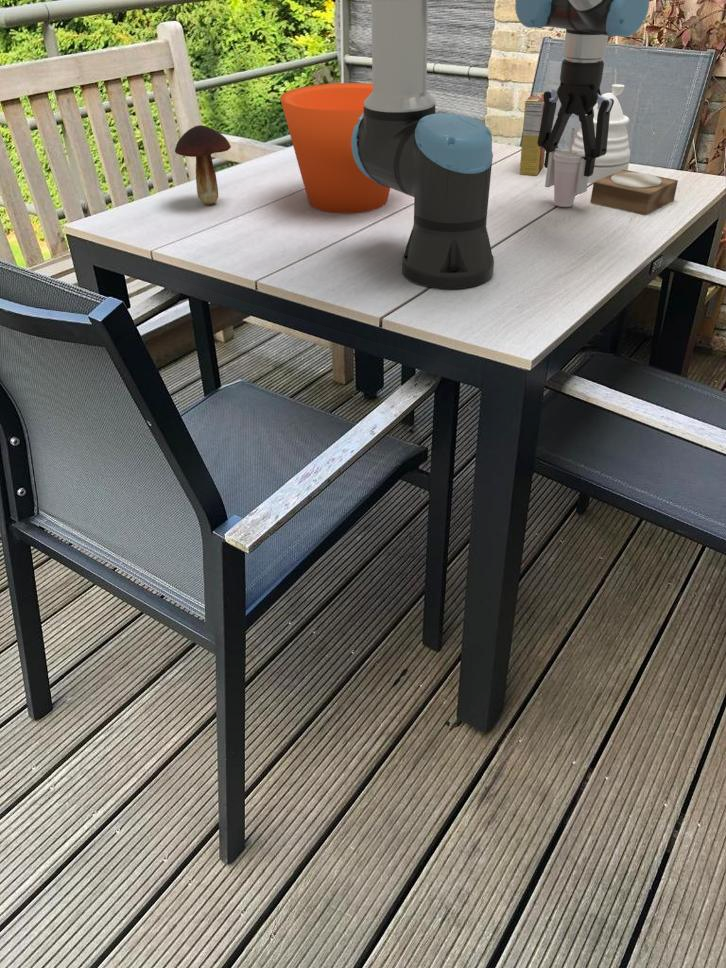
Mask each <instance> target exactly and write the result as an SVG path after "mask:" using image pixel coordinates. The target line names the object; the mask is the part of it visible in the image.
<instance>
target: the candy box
mask: <svg viewBox="0 0 726 968" xmlns="http://www.w3.org/2000/svg"><path fill="white" fill-rule="evenodd" d="M544 93H545V92H532V93H531V95H529V97H528V98H527V99H526V100H525V102H524V112H523V124H522V125H523V127H522V139H521V151H520V165H519V175H523V176H532V177H533V176H535V177H537V176H538V175H539V173H540V172H541V170H542V168H544V167H545V166H544V162H545V154H546V150H545V149H544V148H543V147H542V146H538V137H539V132H540V126H541V121H542V116H543V110H544Z"/></svg>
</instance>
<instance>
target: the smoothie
mask: <svg viewBox="0 0 726 968" xmlns="http://www.w3.org/2000/svg"><path fill="white" fill-rule="evenodd" d="M575 129H576V128H571V131H570V133H571V134H570V141H569V147H568V148H567V149H556V150H557V151H555V152H554V156H553V159H554V160H555V163H554V185H553V189H554V190H553V204H554V206H556V207H561V208H568V207H572V206H573V205H574V202H575V198H576V196H577V194H576V189H577V182H578V175H579V169H580V162H581V159H582V158H583V157H585V152H583V151H579V150H572V146H573V144H574V140H575V138H574V137H575Z"/></svg>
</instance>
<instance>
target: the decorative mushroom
mask: <svg viewBox="0 0 726 968" xmlns="http://www.w3.org/2000/svg"><path fill="white" fill-rule="evenodd" d="M231 148H232V145H231V144H230V143H229V141H228V139H227V138H226V137H225V136H224V135H223V134H222V133H220V132H219V131H217V130H215V129H213V128H211V127H209V126H206V125H196V126H195V125H194V126H193V127H191V128H190V129H188V130H187V131H186V132H184V133H183V134H182V136H181V137H180V138H179V139H178V141H177V143H176V146H175V148H174V153H176V155H180V156H183V157H190V158H193V157H194V158H195V182H196V183H195V184H196V194H197V198H198V200H199V201H200V202H201V203H202V204H204V205H213V204H214V203H216V202H217V201H218V199H219V188H218V181H217V180H218V179H217V175H216V170H215V167H214V163H213V158H212V154H217V153H223V152H227V151H229V150H230V149H231Z"/></svg>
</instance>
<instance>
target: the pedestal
mask: <svg viewBox="0 0 726 968" xmlns="http://www.w3.org/2000/svg"><path fill="white" fill-rule="evenodd" d="M678 182H679V180H677V179H674V178H669V177H663V176H659V175H654V174H651V173H643V172H638V171H633V170H629V169H628V170H624V169H623V170H621V171H618V172H616V173H614V174H611V175H609V176H607V177H604V178H602V179H600V180H597V181H595V182H594V183H592V191H591V197H590V204H591V203H592V204H595V205H600V206H604V207H608V208H609V207H610V208H612V209H613V208H614V209H616V210H617V209H618V210H622V211H627V212H631V213H633V214H639V215H644V216H646V215H649V214H651V213H653V212H654V211H656V210H658V209H661V208H663V207H664V206H667V205H668V204H670V203H672V202H674V201H675V198H676V192H677V187H678ZM673 200H674V201H673ZM671 201H672V202H671ZM669 202H670V203H669Z"/></svg>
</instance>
